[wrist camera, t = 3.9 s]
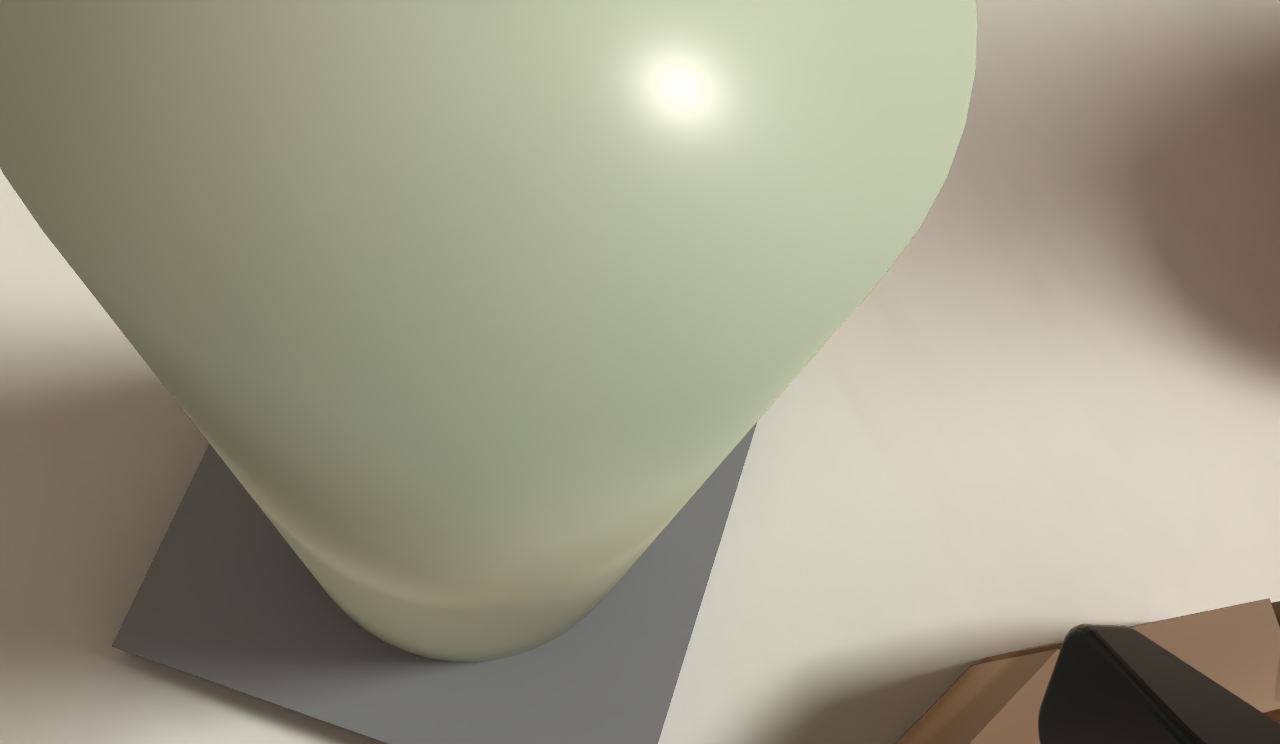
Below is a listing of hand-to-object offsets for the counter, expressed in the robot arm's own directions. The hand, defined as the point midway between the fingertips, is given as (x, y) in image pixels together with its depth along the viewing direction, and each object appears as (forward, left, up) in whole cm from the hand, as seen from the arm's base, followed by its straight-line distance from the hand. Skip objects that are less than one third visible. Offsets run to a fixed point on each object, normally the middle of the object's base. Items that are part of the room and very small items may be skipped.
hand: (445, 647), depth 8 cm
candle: (+3, +1, -10) cm, 11 cm away
